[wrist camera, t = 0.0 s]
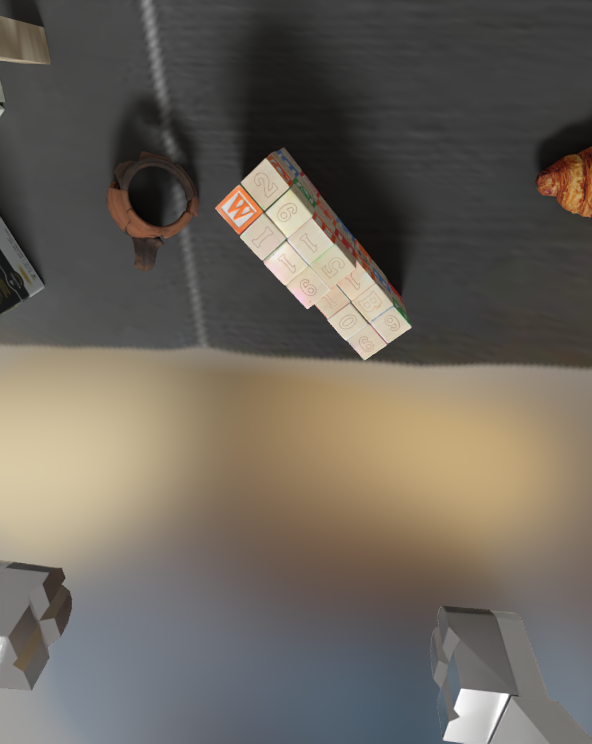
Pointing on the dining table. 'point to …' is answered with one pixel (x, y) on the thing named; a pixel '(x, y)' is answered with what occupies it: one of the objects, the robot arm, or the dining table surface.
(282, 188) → the stack of blocks
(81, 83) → the dining table surface
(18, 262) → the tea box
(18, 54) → the wooden block
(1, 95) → the sage ring
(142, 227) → the pottery mug
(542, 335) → the dining table surface
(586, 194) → the croissant
